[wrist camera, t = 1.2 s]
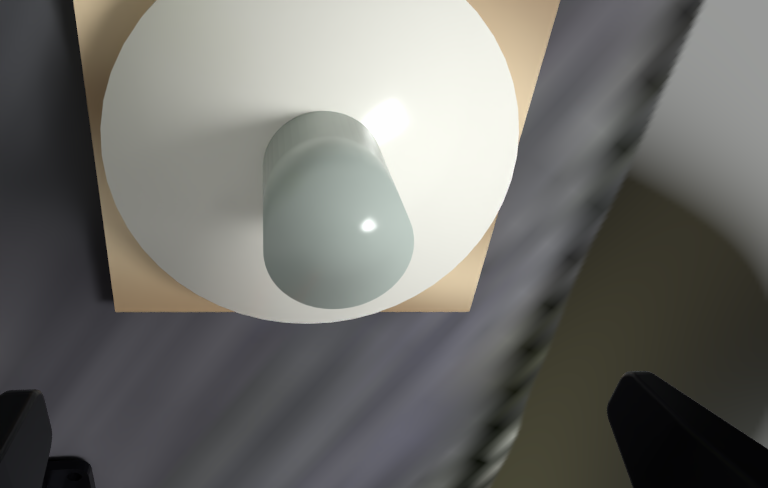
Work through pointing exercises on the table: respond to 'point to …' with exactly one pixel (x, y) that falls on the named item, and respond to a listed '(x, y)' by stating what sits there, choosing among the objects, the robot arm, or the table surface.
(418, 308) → the mat
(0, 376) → the table surface
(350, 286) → the lid
